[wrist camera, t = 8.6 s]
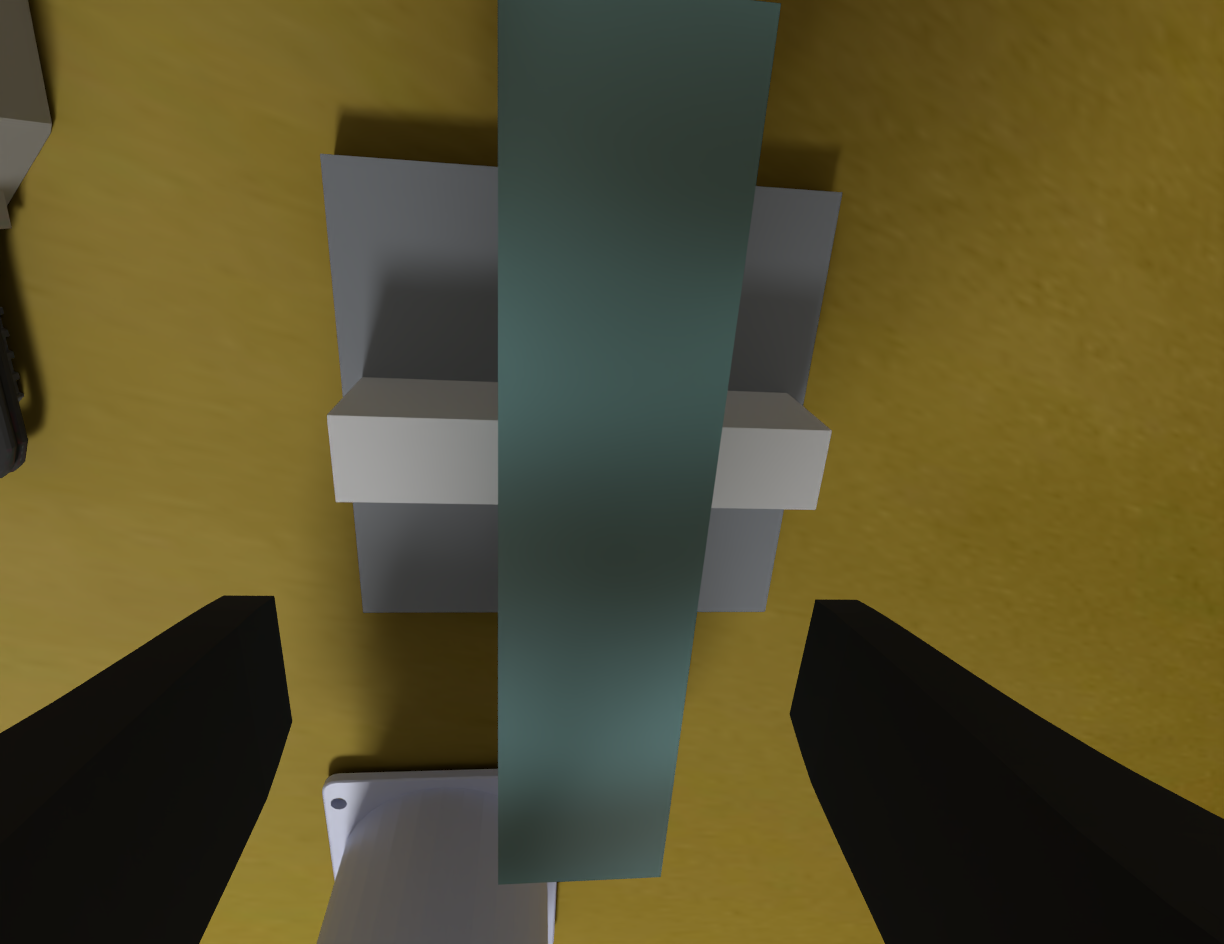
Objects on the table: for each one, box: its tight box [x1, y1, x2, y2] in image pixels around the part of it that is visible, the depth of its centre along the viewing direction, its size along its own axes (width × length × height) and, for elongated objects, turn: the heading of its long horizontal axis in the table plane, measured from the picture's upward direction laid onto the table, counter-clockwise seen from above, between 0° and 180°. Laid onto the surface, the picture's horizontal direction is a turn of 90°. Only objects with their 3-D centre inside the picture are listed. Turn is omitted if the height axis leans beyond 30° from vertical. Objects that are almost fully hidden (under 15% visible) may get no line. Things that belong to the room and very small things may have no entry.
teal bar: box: [498, 0, 781, 885], centre depth 13 cm, size 16×4×4 cm, turn 176°
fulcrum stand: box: [320, 154, 842, 613], centre depth 17 cm, size 12×12×4 cm
